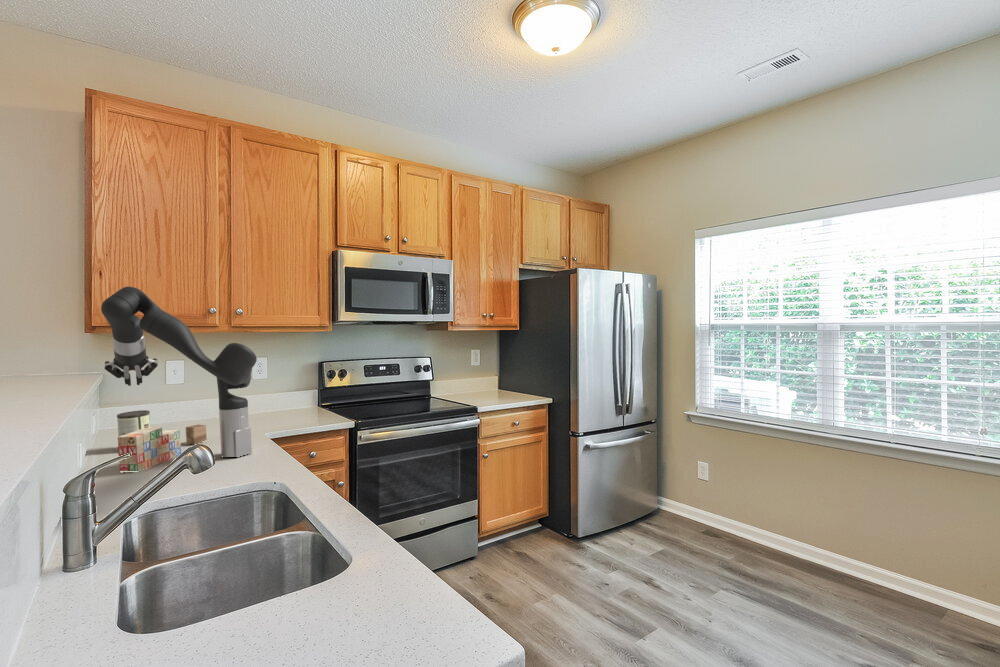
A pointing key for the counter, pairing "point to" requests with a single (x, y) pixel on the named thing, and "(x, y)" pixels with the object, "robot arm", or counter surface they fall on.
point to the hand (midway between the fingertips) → (134, 383)
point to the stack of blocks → (148, 448)
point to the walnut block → (195, 434)
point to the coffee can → (132, 421)
